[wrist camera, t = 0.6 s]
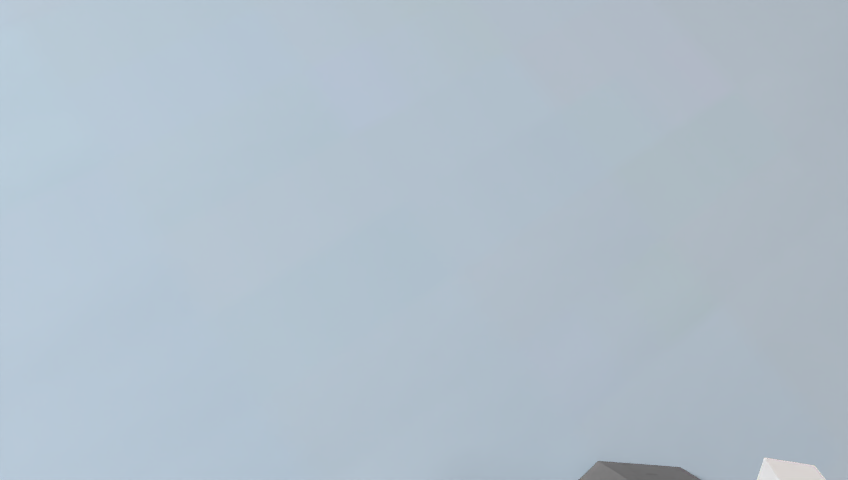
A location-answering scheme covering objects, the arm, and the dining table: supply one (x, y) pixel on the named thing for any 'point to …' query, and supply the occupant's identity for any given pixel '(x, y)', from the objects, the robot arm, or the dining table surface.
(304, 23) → the dining table surface
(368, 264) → the dining table surface
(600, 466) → the coffeepot
